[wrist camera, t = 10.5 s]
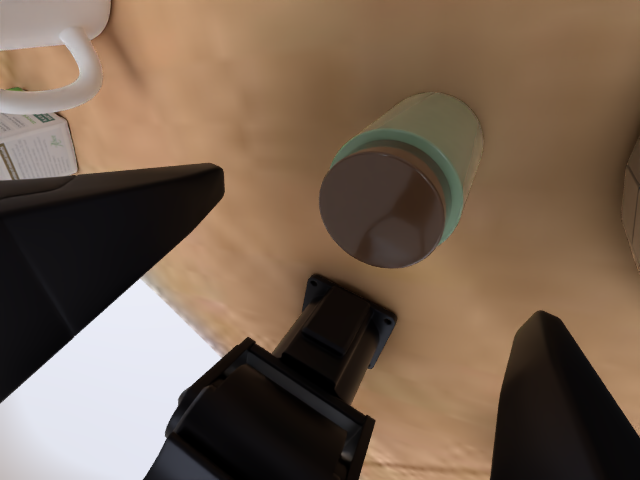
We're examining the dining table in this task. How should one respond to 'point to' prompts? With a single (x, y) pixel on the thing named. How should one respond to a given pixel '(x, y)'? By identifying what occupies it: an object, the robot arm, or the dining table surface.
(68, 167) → the syrup box
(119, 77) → the dining table surface
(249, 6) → the dining table surface
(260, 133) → the dining table surface
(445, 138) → the spice jar
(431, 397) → the dining table surface
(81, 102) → the cup
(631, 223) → the black frying pan
